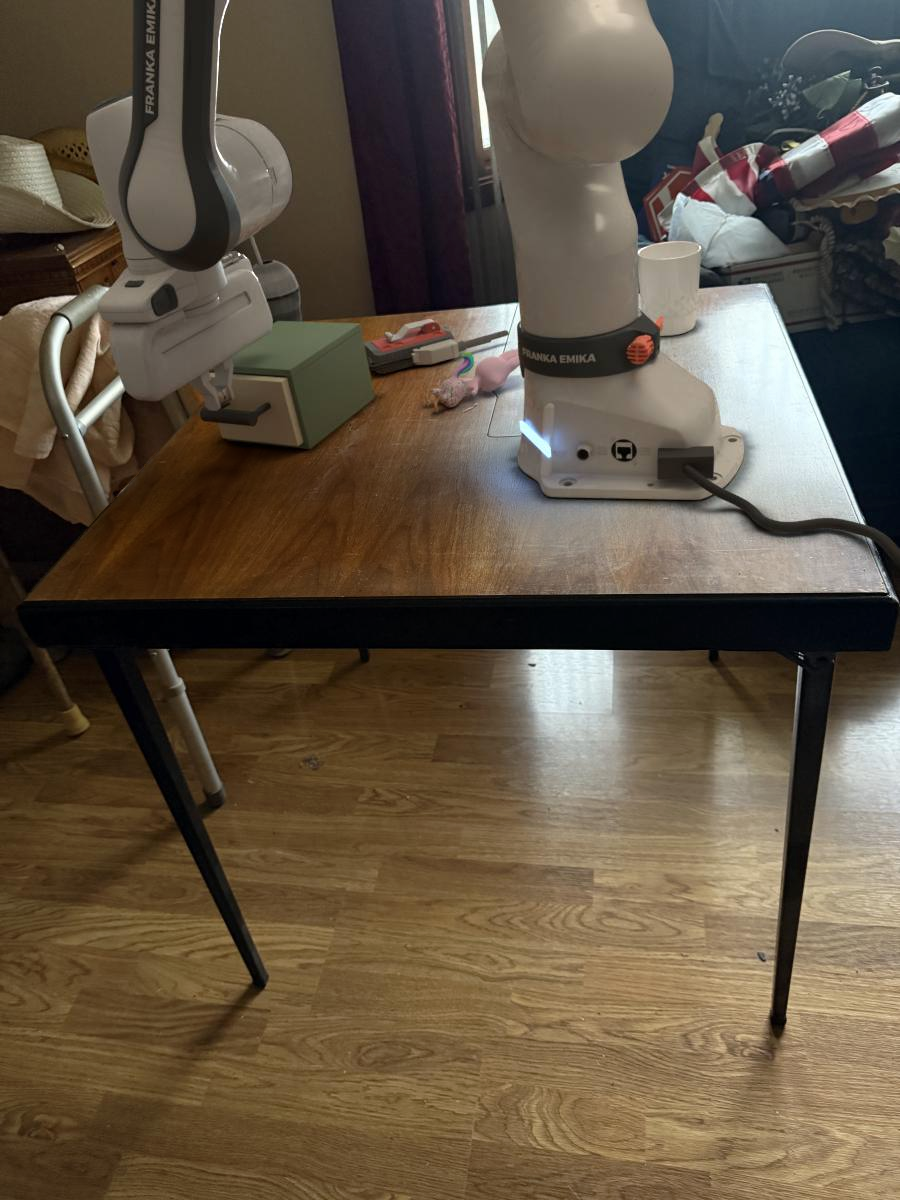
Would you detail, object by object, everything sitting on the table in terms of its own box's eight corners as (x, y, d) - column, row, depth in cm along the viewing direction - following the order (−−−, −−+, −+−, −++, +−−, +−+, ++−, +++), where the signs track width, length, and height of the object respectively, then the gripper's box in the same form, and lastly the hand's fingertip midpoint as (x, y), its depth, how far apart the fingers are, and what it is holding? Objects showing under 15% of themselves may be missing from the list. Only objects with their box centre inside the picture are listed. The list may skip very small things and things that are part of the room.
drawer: (275, 463, 97) (257, 397, 93) (198, 454, 102) (177, 391, 98) (360, 398, 109) (347, 337, 105) (287, 392, 114) (272, 334, 110)
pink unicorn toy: (446, 427, 104) (551, 372, 107) (431, 383, 100) (540, 327, 103) (424, 411, 109) (525, 359, 111) (409, 368, 105) (514, 315, 108)
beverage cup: (309, 385, 118) (271, 229, 106) (260, 388, 120) (217, 235, 108) (326, 365, 124) (292, 214, 112) (278, 368, 125) (240, 220, 114)
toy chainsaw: (376, 383, 115) (512, 344, 120) (370, 350, 112) (509, 312, 117) (356, 364, 122) (486, 328, 127) (350, 333, 119) (482, 298, 124)
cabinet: (310, 449, 101) (289, 369, 96) (226, 440, 107) (202, 364, 101) (375, 397, 111) (360, 323, 106) (295, 391, 117) (277, 320, 111)
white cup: (652, 342, 113) (651, 263, 108) (629, 324, 120) (628, 248, 114) (709, 330, 114) (712, 250, 108) (684, 313, 120) (685, 237, 115)
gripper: (221, 246, 96) (257, 366, 104) (83, 311, 82) (136, 444, 90) (266, 244, 93) (299, 368, 101) (130, 311, 79) (181, 449, 87)
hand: (221, 405), depth 96 cm, fingers closed
